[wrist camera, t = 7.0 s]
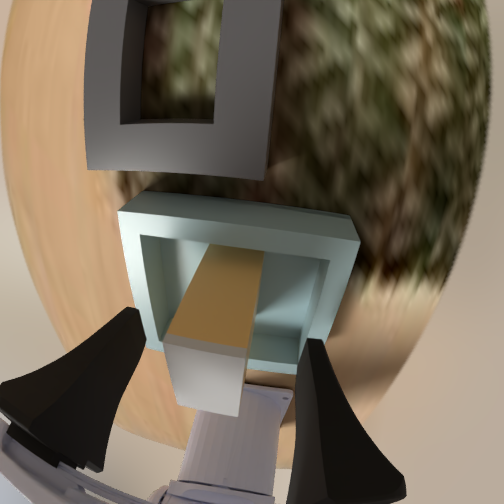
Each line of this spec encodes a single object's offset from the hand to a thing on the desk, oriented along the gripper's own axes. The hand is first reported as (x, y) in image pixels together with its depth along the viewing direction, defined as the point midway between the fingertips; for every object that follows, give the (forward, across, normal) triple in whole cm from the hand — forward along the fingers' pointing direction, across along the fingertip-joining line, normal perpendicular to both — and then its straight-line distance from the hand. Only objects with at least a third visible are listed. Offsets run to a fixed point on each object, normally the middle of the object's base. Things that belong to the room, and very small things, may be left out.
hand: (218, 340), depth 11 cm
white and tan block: (+4, 0, 0) cm, 4 cm away
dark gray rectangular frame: (+4, +3, -11) cm, 12 cm away
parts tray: (+4, 0, 0) cm, 4 cm away
